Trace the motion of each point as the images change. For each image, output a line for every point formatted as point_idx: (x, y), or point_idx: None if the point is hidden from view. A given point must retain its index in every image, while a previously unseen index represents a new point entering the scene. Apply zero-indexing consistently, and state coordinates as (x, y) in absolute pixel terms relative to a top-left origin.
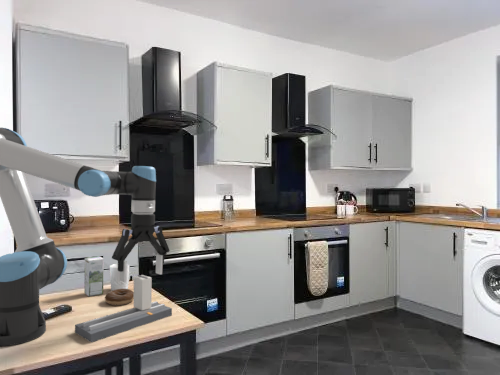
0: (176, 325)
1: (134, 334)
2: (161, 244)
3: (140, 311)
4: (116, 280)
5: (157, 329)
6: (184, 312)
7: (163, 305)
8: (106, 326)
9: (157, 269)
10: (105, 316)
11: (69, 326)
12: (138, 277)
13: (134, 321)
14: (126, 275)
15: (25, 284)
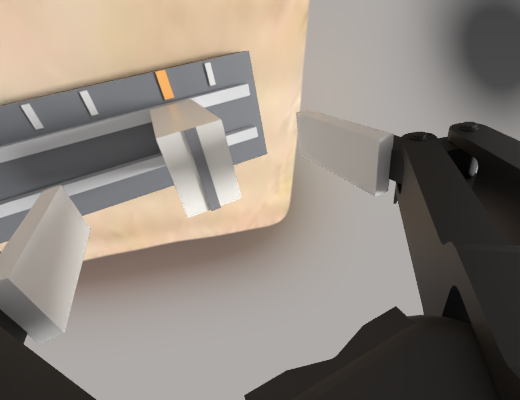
0: (239, 216)
1: (126, 228)
2: (492, 183)
3: (164, 162)
4: None
5: (191, 221)
6: (294, 144)
7: (252, 137)
8: (27, 213)
9: (310, 134)
10: (14, 151)
11: None
12: (180, 169)
13: (134, 197)
14: (84, 251)
15: None
